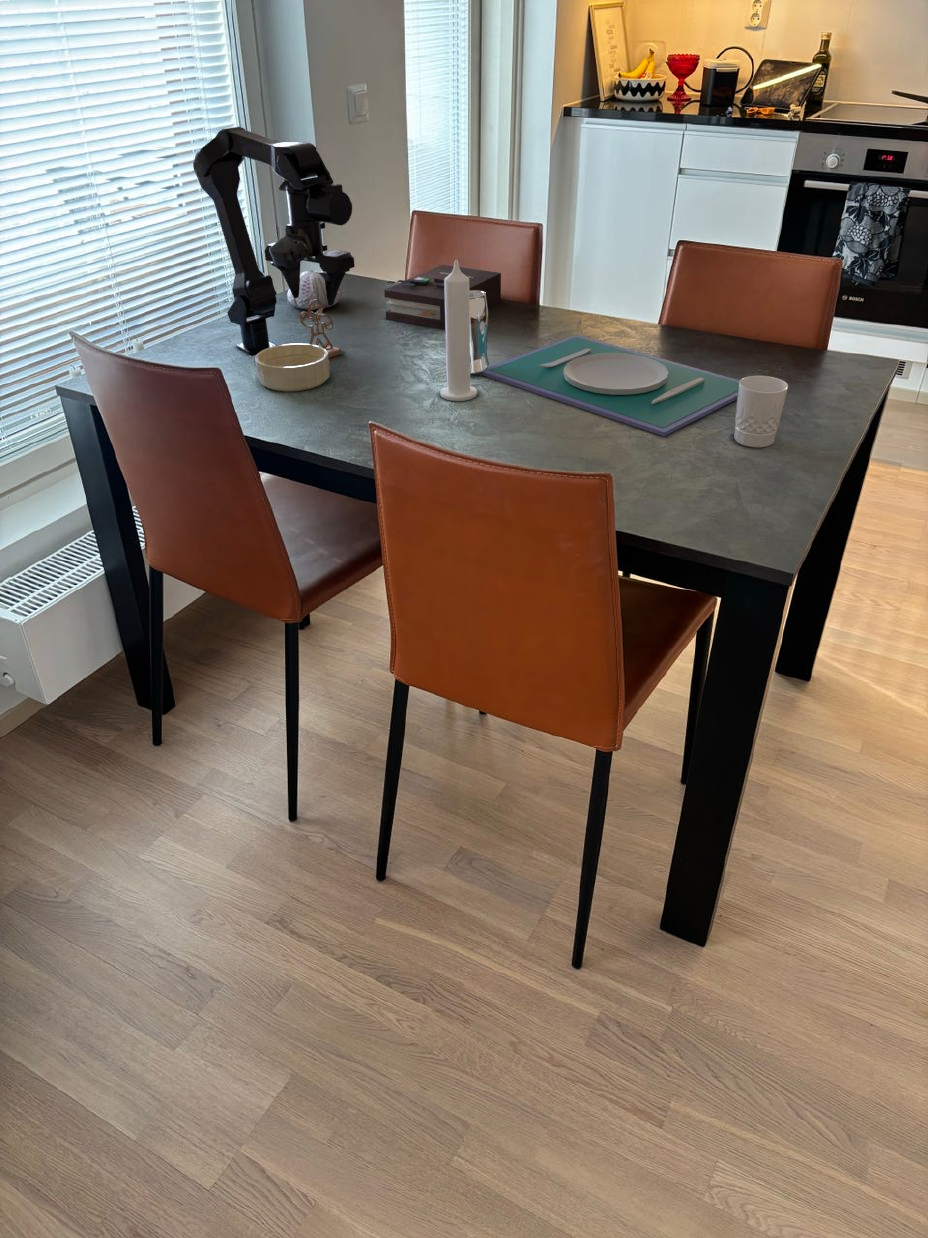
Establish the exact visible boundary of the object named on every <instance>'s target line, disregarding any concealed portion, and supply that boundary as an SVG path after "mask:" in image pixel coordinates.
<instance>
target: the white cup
mask: <svg viewBox="0 0 928 1238" xmlns="http://www.w3.org/2000/svg"><path fill="white" fill-rule="evenodd" d="M739 380H740V381H739V389H738V398H737V399H736V408H735V418H734V419H735V420H734V422H735V426H734V435H733V439H734V440H735V442H736V443H738V444H739V445H742V446H745V447H749V448H767V447H769V446H771V445H773V444H774V443H775V439H776V435H777V431H778V429H779V426H780V423H781V420H782V419H781V418H782V414H783V412H784V406H785V402H786V399H787V394H788V390H789V384H788V383H787V381H785V380H783V379H781V378H778V377H774V376H768V375H749V376H745V377H742V378H741V379H739Z"/></svg>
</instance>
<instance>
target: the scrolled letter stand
mask: <svg viewBox="0 0 928 1238" xmlns="http://www.w3.org/2000/svg"><path fill="white" fill-rule="evenodd" d="M314 301H318V302H319V304H320V306H319V305H315V307H314V306H311V304H312V303H313V302H314ZM310 307H311V308H310ZM315 308H317V309H315ZM319 308H320V309H319ZM306 310H307V311H300V314H299V317H298V318H299V321H300V324H301V325H302V326H303V327H306V328H310V335H311V336H310V340H309V343H308V344H312V345H313V342H314V339H315V337H316V336H320V335H322V336H323V337H324V339H325V340H326V342H325V343H324V344H323V341H322V340H321V339H320V338H319V337H317V339H316V341H315V344H314V345H317V346H319V344H320V347H322V348H324V349H326V350H327V352H328V357H329V359H330V358H334V357H336V356H339V355H342V354H343V353H342V349H341V348H339V347H336V346H333V344H332V343H331V341H330V339H329V337H328V336H327V334H326V333H325V330H329V331H330V330H332V329H333V327H334V321H333V319H332V317H331V316H330V315H328V314H325V313H323V312H324V309H323V305H322V302H321V301H320V300H317V299H313V300H311V301H310V302H309V304H308V308H307V309H306ZM315 310H316V312H314V311H315ZM321 317H327V319H328V321H327V322H324V321H321V320H322V319H321ZM307 319H308V320H312V322H313V323H314V325H315V326H316V327H315V331H316V332H315V331H314V325H312V324H311V325H307V324H306V323H305V320H307ZM320 321H321V322H320ZM319 325H320V328H321V329H320V328H319ZM328 326H329V327H328Z"/></svg>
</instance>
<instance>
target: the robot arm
mask: <svg viewBox="0 0 928 1238" xmlns="http://www.w3.org/2000/svg"><path fill="white" fill-rule="evenodd" d="M245 158H247V159H250V160H253V161H256V162H258V163H261V164H263V165H266V166H269V167H271V168H272V170H273V172H274V173H275V175H277V176H279V177H280V178H282V179H283V181H282V183H280V185H279V186H278V190H279V191H281V192H285V193H286V197H287V206H288V216H289V223H288V224H286V225H285V230H284V231H285V233H284V234H285V235H284V236H283V237H281V238H279V239H278V240H277V241H276V242H273V243H269V244H267V245H266V246H265V248H264V258H265V259H264V260H265V261H266V262H270V265H271V266H272V267H275V268H276V269H278V270H279V271H280V273H282V276H283V278H284V280H285V282H286V284H287V286H288V290H289V289H290V291H291V293H292V295H293V297H294V298H298V297H299V290H300V274H301V262H303V261H304V262H309V263H315V264H319V268H320V270H321V271H322V272H320V275H321V276H322V277H323V278H324V280H325V288H326V296H327V301H328V305H329V306H330V307H332V306H334V305H333V304H334V301H335V298H336V295H337V292H338V289H339V287H340V286H341V284H342V282H343V280H344V278H345V276H346V273H347V272H350V270H351V269H354V268H355V266H356V265H355V257H354V254H352V252H350V251H346V250H340V249H334V250H332V251H329V252H326V251H328V244H324V243H323V234H322V230H323V229H326V224H330V225H334V226H335V225H336V226H344V225H346V224H347V223H348V222H349V220H350V219H351V217H352V213H353V202H352V201H351V199H350V196H349V195H348V194H347V193H346V192H345V191H343V185H342V184H341V183H335V184H334V180H333V178H332V176H331V172H330V171H329V170H328V168H327V166H326V165H325V162H324V160H323V159H322V157H321V155H320V153H319V152H318V150H317V147H316V146H315V145H314V144H313V143H311V142H303V141H302V142H301V141H298V142H294V141H293V142H282V141H279V140H276V139H273V138H271V137H267V136H264V135H262V134H258V133H256V132H253V131H249V130H247V129H245V128H244V127H241V126H231V127H225V128H222V129H220V130H219V131H218V132H217V133H216V134H215V137H214V138H213V139H211V140H209V142H207V143H206V144H205V145H204V146H202V147H201V149H200V150H199V151H197V152H196V153H195V155H194V159H193V161H192V167H193V172H194V173H195V176H196V179H197V181H198V183H199V186H200V188H201V189H202V191H204V192H205V193H206V194H207V195H208V196H209V198H210V199H211V200H212V201H213V204H214V208H215V211H216V214H217V217H218V221H219V224H220V228H221V231H222V235H223V237H224V241H225V244H226V248H227V252H228V255H229V257H230V261H231V265H232V268H233V271H234V279H233V283H232V288H231V290H232V295H233V301H232V303H231V305H230V306H229V309H228V310H227V312H226V314H227V317H228V319H229V321H230V323H232V324H235V325H238V326H239V330H240V336H241V343H237V344H236V348H238V349H240V350H241V351H243V352H245V353H247V354H248V355H252V354H256V353H257V354H258V353H259V352H261V351H262V350H265V349H267V348H270V347H274V346H277V345H275V344H274V343H272V342H270V338H269V331H268V323H267V319H269V318H273V317H275V313H276V305H277V299H278V298H277V295H278V293H277V291H276V289H275V285H274V282H273V278H272V276H271V275H270V274H267V275H266V274H265V273H264V272H263V271H262V270H261V269H260V268H259V264H258V261H257V258H256V254H255V251H254V247H253V244H252V241H251V238H250V237H251V236H250V234H249V229H248V228H247V227H248V226H247V223H246V221H245V216H244V213H243V210H242V207H241V203H240V199H239V195H238V193H239V186H240V183H241V174H240V166H241V164H242V163H243V162H244V160H245ZM324 252H325V253H324ZM331 305H332V306H331Z"/></svg>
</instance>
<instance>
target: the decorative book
mask: <svg viewBox="0 0 928 1238" xmlns="http://www.w3.org/2000/svg"><path fill="white" fill-rule="evenodd" d="M453 268H454V265H448V264H441V265H440V264H439V265H438V266H436V267H433V268H431V269H429V270H427V271H424V272H422V273H419V274H417V275H415V276H413V277H410V278H408V279H406V280H403V279H399V280H397V281H392V280H389V281H387V282H386V283H387V284H391V285H392V286H390V287H388V288H385V289H383V292H384V298H386V299H389V301H386V304H388V305H389V306H390V309H389V310H387V311H385V320H389V321H395V322H401V323H406V324H410V325H411V324H412V325H417V326H422V327H423V326H424V327H428V328H429V327H430V328H434V329H439V330H445V291H444V279H445V278H446V277H447V276H448V275H449V274H451V273H452V271H453ZM459 268H460V270H461V272H462V273H463V274H464V275H465V276H467V277H468V278H469V291H473V290H477V291H484V292H485V293H486V301H487V308H490V307H492V306H494V305H496V304H498V303H500V302H501V301H502V292H501V291H502V272H499V271H490V270H484V269H476V268H469V267H461V266H459ZM395 283H397V284H395ZM393 284H394V285H393Z"/></svg>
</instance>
